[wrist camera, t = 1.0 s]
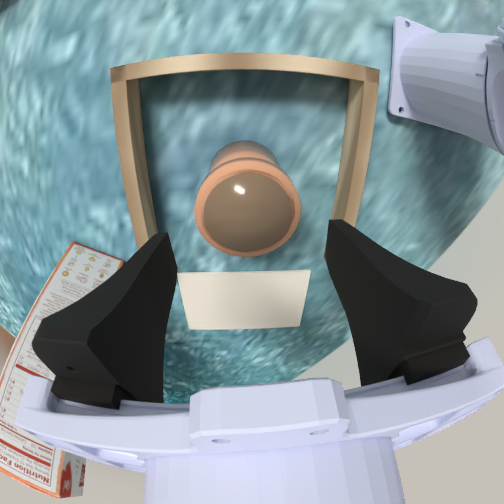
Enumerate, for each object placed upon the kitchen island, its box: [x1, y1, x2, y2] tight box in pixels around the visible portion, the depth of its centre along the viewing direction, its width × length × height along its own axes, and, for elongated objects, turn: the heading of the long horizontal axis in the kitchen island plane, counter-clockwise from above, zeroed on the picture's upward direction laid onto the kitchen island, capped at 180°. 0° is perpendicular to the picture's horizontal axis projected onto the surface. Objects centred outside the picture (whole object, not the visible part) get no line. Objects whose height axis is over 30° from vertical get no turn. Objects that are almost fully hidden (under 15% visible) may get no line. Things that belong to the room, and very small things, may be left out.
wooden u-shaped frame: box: [110, 53, 380, 260], centre depth 18 cm, size 16×16×2 cm
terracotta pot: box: [194, 141, 301, 257], centre depth 17 cm, size 6×6×6 cm
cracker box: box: [0, 242, 124, 498], centre depth 17 cm, size 14×6×21 cm, turn 154°
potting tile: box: [177, 270, 311, 329], centre depth 27 cm, size 12×8×1 cm, turn 89°
